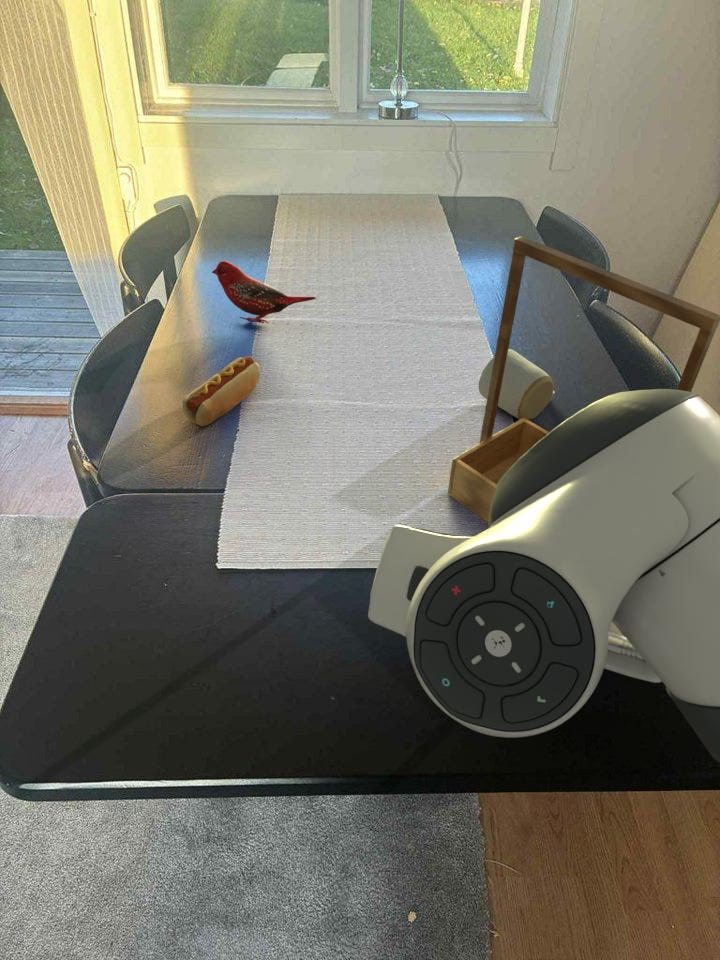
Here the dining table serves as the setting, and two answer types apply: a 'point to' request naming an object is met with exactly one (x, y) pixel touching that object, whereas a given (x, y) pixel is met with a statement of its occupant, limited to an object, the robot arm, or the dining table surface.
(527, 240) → the handle
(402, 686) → the dining table surface
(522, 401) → the ceramic mug
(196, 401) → the food
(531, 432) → the light wood open box
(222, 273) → the decorative bird figurine
